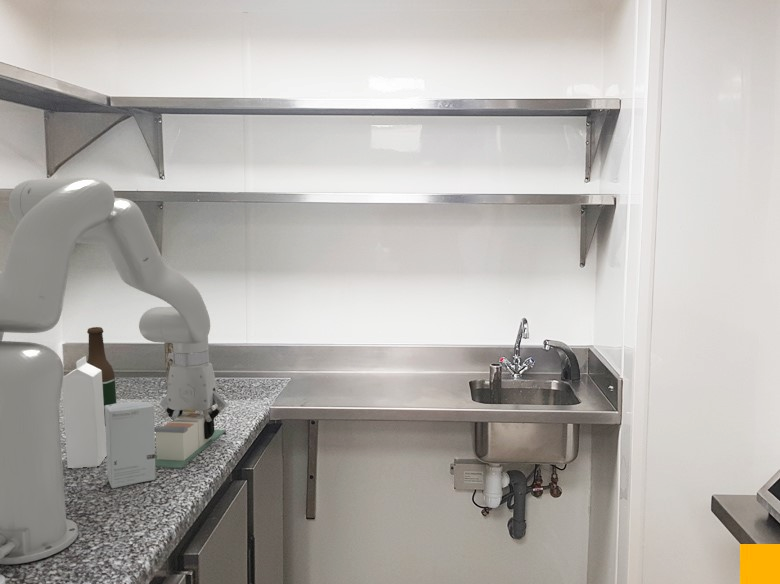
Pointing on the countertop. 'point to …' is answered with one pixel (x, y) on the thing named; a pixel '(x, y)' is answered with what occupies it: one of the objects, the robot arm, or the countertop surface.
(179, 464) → the mat
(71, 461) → the milk
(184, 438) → the lidded cream box
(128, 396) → the countertop surface
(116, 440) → the skincare box
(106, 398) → the beer bottle
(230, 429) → the countertop surface
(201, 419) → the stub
